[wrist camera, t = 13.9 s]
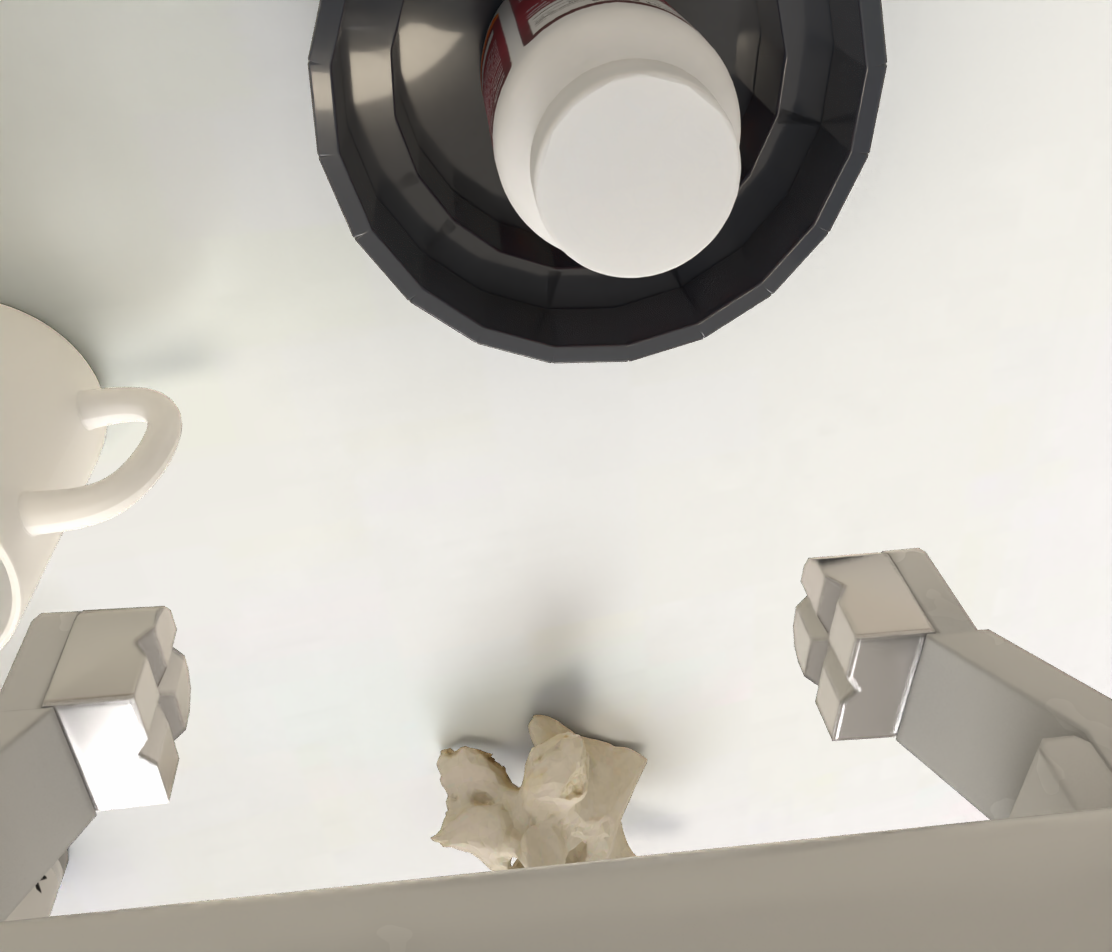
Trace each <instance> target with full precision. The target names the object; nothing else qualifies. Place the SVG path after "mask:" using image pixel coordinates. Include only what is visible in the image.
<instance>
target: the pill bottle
mask: <svg viewBox="0 0 1112 952" xmlns="http://www.w3.org/2000/svg"><path fill="white" fill-rule="evenodd" d="M481 88H482V95H483V99H484V104H485V109H486V114H487V119H488V124H489V132H490V136H491V141H492V147H493V154H494V159H495V163H496V167H497V171H498V174H499V177H500V181H501V183H502V186H503V189H504V191H505V193H506V195H507V197H508V199H509V201H510V203H511V205H512V206H513V208H514V209H515V211H516V212H517V213H518V215H519V216H520V218H521V219H522V220H523V221H524V222H525V223H526V224H527V225H528V226H529V227H530V228H531V229H532V230H533V231H534V232H535V233H536V234H537V235H539V236H540V237H541V238H543V239H544V240H545V241H547V242H548V243H550V244H552V245H553V246H555V247H557V248H559V249H561V250H562V251H564V252H565V253H566V254H567V255H568V256H569V257H570V258H572V259H573V260H575V261H576V262H577V263H579V264H581V265H582V266H584V267H586V268H588V269H590V270H592V271H595V272H598V273H601V274H605V275H608V276H614V277H621V278H639V277H646V276H652V275H657V274H660V273H664V272H666V271H669V270H671V269H674V268H676V267H678V266H680V265H682V264H684V263H685V262H687V261H688V260H690V259H692V258H693V257H694V256H696V255H697V254H698V253H699V252H701V251H702V250H703V249H704V248H705V247H706V246H707V245H708V244H709V243H710V242H711V241H712V240H713V239H714V238H715V237H716V235H717V234H718V233H719V231H720V230H721V228H722V227H723V225H724V224H725V222H726V220H727V219H728V217H729V215H730V213H731V210H732V208H733V205H734V202H735V200H736V197H737V194H738V189H739V183H740V175H741V158H740V150H739V145H740V135H741V120H740V109H739V103H738V98H737V94H736V91H735V87H734V84H733V81H732V79H731V77H730V75H729V72H728V70H727V68H726V66H725V65H724V63H723V61H722V60H721V58H720V57H719V55H718V54H717V52H716V51H715V50H714V49H713V47H712V46H711V45H710V44H709V43H708V42H707V41H706V39H705V38H704V37H703V36H702V35H701V34H700V33H699V32H698V31H697V30H696V29H695V28H694V27H693V26H692V25H691V24H689V23H688V22H687V21H686V20H685V19H684V18H683V17H682V16H681V15H680V14H679V13H677V12H676V11H675V10H674V9H673V8H672V7H671V6H670V5H669V4H668V3H667V2H666V1H665V0H504V1H503V3H502V4H501V5H500V7H499V8H498V10H497V12H496V13H495V15H494V17H493V19H492V21H491V23H490V25H489V28H488V31H487V34H486V37H485V42H484V46H483V51H482V58H481Z"/></svg>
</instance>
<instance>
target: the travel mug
mask: <svg viewBox="0 0 1112 952" xmlns="http://www.w3.org/2000/svg"><path fill="white" fill-rule="evenodd" d="M67 864H68V851H67V850H66V851H65V852H64V853H63V854H62V856H61V857H60V858H59V859H58V860H57V861H56V862H55V864H54V865H53V866H52V867H51V868H50V869H49V871H48V872H47V873H46V874H45V875H44V876H43V877H42V879H41V880H40V881H39V882H38V883H37V884H36V885H35V887H34V888H33V889H32V890H31V891H30V892H29V893H28V895H27V896H26V897H25V898H24V899H23V900H22V901H21V903H20V904H19V905H18V906H17V907H16V908H15V910H14V911H13V912H12V913H11V914H10V915H9V916H8V918H7V919H6V920H5V921H13V920H22V919H32V918H42V917H50V914H51V911H52V908H53V905H54V902H55V899H56V896H57V893H58V889H59V888H60V885H61V882H62V879H63V876H64V873H65V870H66V867H67Z"/></svg>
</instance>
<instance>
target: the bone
mask: <svg viewBox="0 0 1112 952" xmlns="http://www.w3.org/2000/svg"><path fill="white" fill-rule="evenodd" d="M528 730H529V734H530V737H531V740H532V743H533V745H534V747H533V748H532V749H531V751H530V753H529V756H528V759H527V761H526V764H525V771H524V778H523V783H522V785H521V787H517V786H516V785H514V784H513V783H512V782H511V780H510V778H509V776H508V775H507V773H506V769H505V767H504V766H503V767H502V766H501V765H500V764H499V763H497V762H495V761H494V760H495V759H494V758H492V757H491V756H492V754H491V753H487V752H484V751H481V750H478V749H474V748H469V747H467V746H464V747H461V748H460V749H458V750H457V751H455V752H454V751H453V750H452V749H451V748H449V749H444V750H442V751H441V755H440V756H439V759H438V761H437V767H438V770H439V772H440V774H441V778H440V782H441V785H442V786H443V787H444V789H445V790H446V792H447V794H448V798H447V800H446V804H447V809H448V811H447V812H446V817H445V818H444V821H443V824H442V827H441V830H440V831H439V832H438V833H437V834H436V835H434V836H433V837H431V839H432V840H433V841H435V842H439V843H440V844H441V845H442V846H443V847H452V848H455V849H458V850H461V851H464V852H470V853H471V854H473V855H474V856H476V857H477V858H479V859H480V860H481V861H482V862H483V863H484V864H485V865H486V866H487V867H488V868H489V869H490V870H492V871H498V870H508V869H517V868H527V867H537V866H547V865H556V864H566V863H576V862H585V861H595V860H605V859H614V858H624V857H634V856H636V855H635V854H634V853H633V852H632V850H631V849H630V847H629V846H628V843H627V841H626V838H625V835H624V832H623V828H622V824H621V819H622V816H623V814H624V812H625V809H626V807H627V805H628V803H629V800H630V798H631V796H632V793H633V791H634V788H635V786H636V784H637V782H638V780H639V778H640V776H641V774H642V772H643V769H644V767H645V765H646V763H647V759H646V758H645V757H644V756H642V755H641V754H639V753H637V752H636V751H634V750H632V749H629V748H627V747H614V746H613V745H611V744H610V743H607V742H603V741H600V740H596V739H591V738H587V737H583V736H580V735H579V734H577V735H576V734H575V733H573V731H571V730H570V729H568V728H567V727H565V726H564V725H562V724H561V723H560V722H559V721H557V720H555V719H553V718H551V717H549V716H545V715H534V716H533V719H532V720H531V721H530V723H529V725H528ZM512 857H515V858H518V859H517V860H516V861H515V863H514V864H513V866H511V859H512Z"/></svg>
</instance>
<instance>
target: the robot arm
mask: <svg viewBox="0 0 1112 952" xmlns="http://www.w3.org/2000/svg"><path fill="white" fill-rule="evenodd" d="M801 583H802V585H803V587H804V589H805V592H806V594H807V596H806V597H805V598H804V599H803V600H802V601H801V602H800V603H799V604H798V605H797V606H796V610H795V616H794V623H793V633H794V647H795V651H796V655H797V659H798V662H799V665H800V667H801V670H802V672H803V674H804V676H805V677H806V678H808V679H809V680H811V681H812V682H813V683H815V684H816V685H818V691H817V696H816V700H815V702H816V705H817V707H818V709H819V711H820V714H821V716H822V718H823V720H824V723H825V725H826V727H827V730H828V732H829V734H830V736H831V739H832V741H839V740H854V739H869V738H884V737H896V740H897V741H898V742H899V743H900V744H901V745H903V746H904V747H905V748H906V749H907V750H908V751H910V752H911V753H912V754H913V755H914V756H915V757H917V758H918V759H919V760H920V761H921V762H923V763H924V764H925V765H926V766H927V767H928V768H930V769H931V770H932V771H933V772H934V773H936V774H937V775H938V776H939V777H940V778H941V779H943V780H944V781H945V782H946V783H947V784H949V785H950V786H951V787H952V788H953V789H954V790H956V791H957V792H958V793H959V794H960V795H961V796H963V797H964V798H965V799H966V800H967V801H969V802H970V803H971V804H972V805H973V806H974V807H976V808H977V809H978V810H979V811H980V812H982V813H983V814H984V815H985V816H986V817H987V818H989V819H990V820H985V821H975V822H965V823H956V824H946V825H936V826H926V827H917V828H907V829H898V830H888V831H878V832H869V833H859V834H850V835H840V836H830V837H821V838H811V839H801V840H791V841H781V842H772V843H762V844H752V845H742V846H732V847H722V848H713V849H703V850H693V851H683V852H673V853H663V854H654V855H644V856H634V857H624V858H614V859H605V860H595V861H585V862H576V863H566V864H556V865H547V866H537V867H527V868H517V869H508V870H498V871H488V872H479V873H469V874H459V875H450V876H440V877H430V878H421V879H411V880H401V881H392V882H382V883H372V884H362V885H353V886H343V887H333V888H324V889H314V890H304V891H294V892H285V893H275V894H265V895H255V896H246V897H236V898H226V899H217V900H207V901H197V902H187V903H178V904H168V905H158V906H149V907H139V908H129V909H119V910H110V911H100V912H90V913H81V914H71V915H61V916H51V917H42V918H32V919H22V920H13V921H5V920H6V919H7V918H8V916H9V915H10V914H11V913H12V912H13V911H14V910H15V908H16V907H17V906H18V905H19V904H20V903H21V901H22V900H23V899H24V898H25V897H26V896H27V895H28V893H29V892H30V891H31V890H32V889H33V888H34V887H35V885H36V884H37V883H38V882H39V881H40V880H41V879H42V877H43V876H44V875H45V874H46V873H47V872H48V871H49V869H50V868H51V867H52V866H53V865H54V864H55V862H56V861H57V860H58V859H59V858H60V857H61V856H62V854H63V853H64V852H65V851H66V850H67V849H68V848H69V846H70V845H71V844H72V843H73V842H74V841H75V840H76V838H77V837H78V836H79V835H80V834H81V833H82V832H83V830H84V829H85V828H86V827H87V826H88V825H89V823H90V822H91V821H92V820H93V819H94V818H95V817H96V812H95V811H104V810H112V809H120V808H129V807H137V806H146V805H154V804H162V803H169V800H170V796H171V792H172V787H173V783H174V779H175V775H176V770H177V766H178V762H179V756H178V752H177V749H176V746H175V742H174V740H175V739H176V738H178V737H179V736H180V735H181V734H182V733H183V732H184V731H185V730H186V727H187V722H188V717H189V712H190V694H191V686H190V678H189V670H188V666H187V663H186V659H185V655H183V654H182V653H181V652H179V651H178V650H176V649H175V648H174V647H173V643H174V639H175V635H176V631H177V628H176V625H175V622H174V619H173V616H172V613H171V610H170V609H169V608H167V607H165V606H155V607H136V608H117V609H98V610H83V611H75V612H55V613H41V614H39V615H38V616H37V617H36V618H35V619H33V621H32V622H31V624H30V626H29V628H28V630H27V633H26V635H25V637H24V639H23V642H22V644H21V646H20V649H19V651H18V653H17V655H16V658H15V660H14V662H13V664H12V667H11V669H10V671H9V673H8V676H7V678H6V680H5V683H4V685H3V687H2V689H1V692H0V952H1112V699H1110V698H1109V697H1107V696H1105V695H1103V694H1102V693H1100V692H1098V691H1096V690H1095V689H1093V688H1091V687H1089V686H1088V685H1086V684H1084V683H1082V682H1080V681H1079V680H1077V679H1075V678H1073V677H1072V676H1070V675H1068V674H1066V673H1065V672H1063V671H1061V670H1059V669H1058V668H1056V667H1054V666H1052V665H1050V664H1049V663H1047V662H1045V661H1043V660H1042V659H1040V658H1038V657H1036V656H1035V655H1033V654H1031V653H1029V652H1028V651H1026V650H1024V649H1022V648H1020V647H1019V646H1017V645H1015V644H1013V643H1012V642H1010V641H1008V640H1006V639H1005V638H1003V637H1001V636H999V635H997V634H996V633H994V632H992V631H990V630H989V629H987V630H977V628H976V627H975V625H974V624H973V622H972V621H971V619H970V618H969V616H968V615H967V613H966V612H965V610H964V609H963V607H962V606H961V604H960V603H959V601H958V600H957V598H956V597H955V595H954V594H953V592H952V591H951V589H950V588H949V586H948V585H947V583H946V582H945V580H944V579H943V577H942V576H941V574H940V573H939V571H938V570H937V568H936V567H935V565H934V564H933V562H932V561H931V559H930V558H929V556H928V555H927V553H926V552H925V551H923V550H921V549H920V548H911V549H901V550H890V551H882V552H881V553H880V552H875V553H863V554H851V555H838V556H826V557H814V558H808V560H807V562H806V563H805V565H804V568H803V573H802V577H801Z"/></svg>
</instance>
